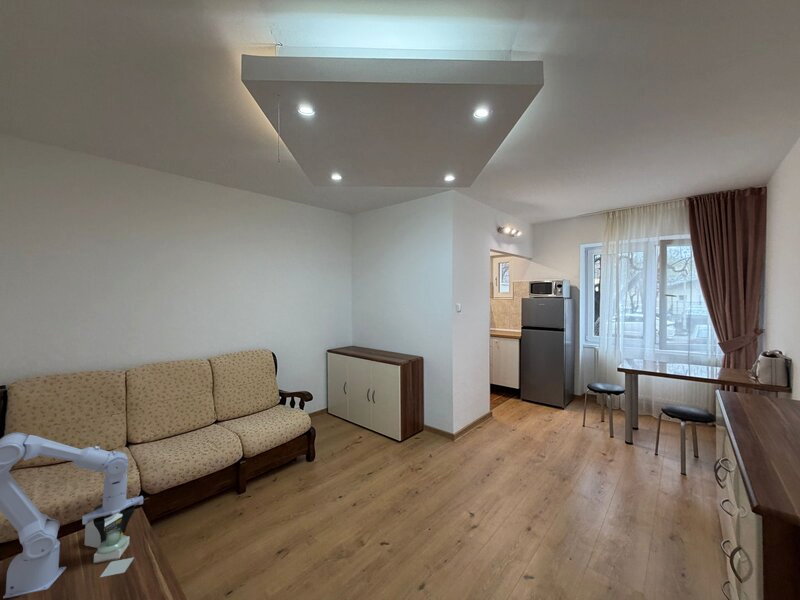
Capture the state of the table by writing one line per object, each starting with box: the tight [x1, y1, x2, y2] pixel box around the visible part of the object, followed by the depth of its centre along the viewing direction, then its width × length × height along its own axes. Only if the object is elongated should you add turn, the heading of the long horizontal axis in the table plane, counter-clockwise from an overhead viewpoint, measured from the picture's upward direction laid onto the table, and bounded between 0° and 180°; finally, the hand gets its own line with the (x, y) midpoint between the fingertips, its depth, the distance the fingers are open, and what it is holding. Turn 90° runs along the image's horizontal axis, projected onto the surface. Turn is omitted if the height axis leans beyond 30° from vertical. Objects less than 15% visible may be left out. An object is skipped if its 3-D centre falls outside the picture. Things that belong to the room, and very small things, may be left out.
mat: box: [99, 556, 135, 578], centre depth 96 cm, size 6×6×1 cm
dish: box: [93, 536, 130, 564], centre depth 101 cm, size 6×6×3 cm
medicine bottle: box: [84, 502, 124, 549], centre depth 108 cm, size 7×7×12 cm
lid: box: [97, 529, 128, 554], centre depth 101 cm, size 7×7×4 cm
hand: (113, 535), depth 101 cm, fingers open, 4 cm apart
